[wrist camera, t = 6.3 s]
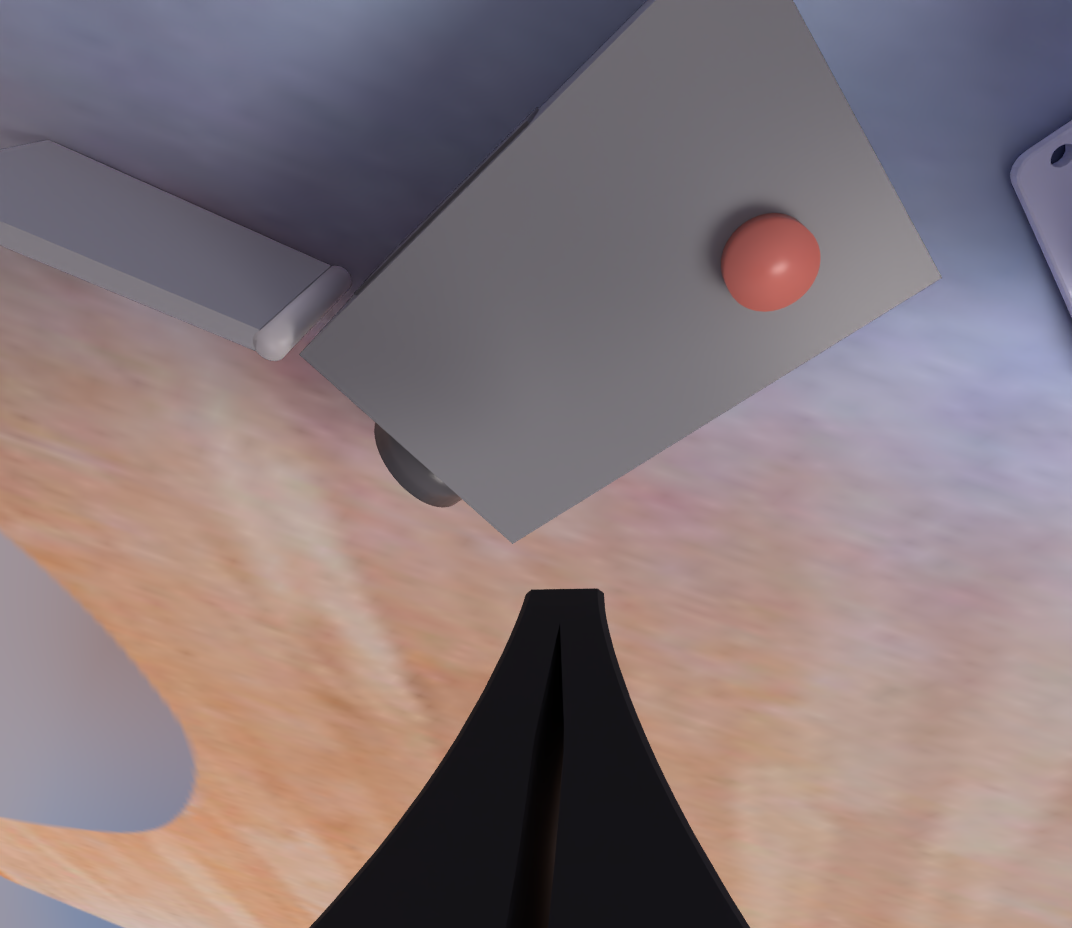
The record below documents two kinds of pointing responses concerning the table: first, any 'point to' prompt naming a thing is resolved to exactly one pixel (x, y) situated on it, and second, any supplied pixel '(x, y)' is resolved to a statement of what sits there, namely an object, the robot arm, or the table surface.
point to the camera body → (626, 266)
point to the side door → (161, 249)
